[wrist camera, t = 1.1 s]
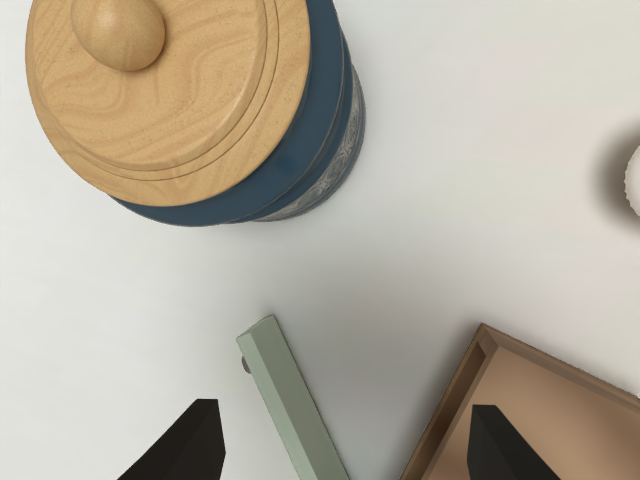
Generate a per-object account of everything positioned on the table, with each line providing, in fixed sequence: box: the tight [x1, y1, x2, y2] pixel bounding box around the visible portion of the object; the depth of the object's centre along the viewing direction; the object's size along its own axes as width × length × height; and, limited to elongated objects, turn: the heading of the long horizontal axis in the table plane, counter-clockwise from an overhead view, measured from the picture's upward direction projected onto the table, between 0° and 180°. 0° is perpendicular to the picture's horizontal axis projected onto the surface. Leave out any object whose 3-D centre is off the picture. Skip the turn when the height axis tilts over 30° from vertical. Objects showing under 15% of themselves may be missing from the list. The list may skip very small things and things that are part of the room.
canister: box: [25, 0, 365, 227], centre depth 21 cm, size 13×13×18 cm
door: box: [236, 315, 349, 480], centre depth 28 cm, size 16×2×5 cm, turn 26°
